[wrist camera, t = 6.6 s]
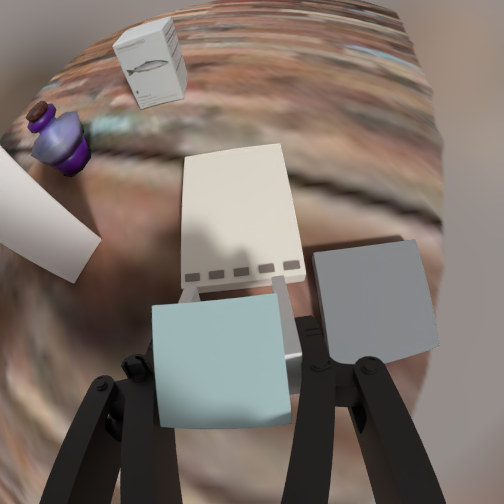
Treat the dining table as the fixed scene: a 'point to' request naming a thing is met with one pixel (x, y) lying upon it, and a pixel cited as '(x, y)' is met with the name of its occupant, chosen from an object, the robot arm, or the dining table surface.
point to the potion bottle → (58, 139)
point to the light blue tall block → (221, 364)
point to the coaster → (374, 302)
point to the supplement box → (153, 62)
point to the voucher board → (238, 221)
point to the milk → (41, 224)
